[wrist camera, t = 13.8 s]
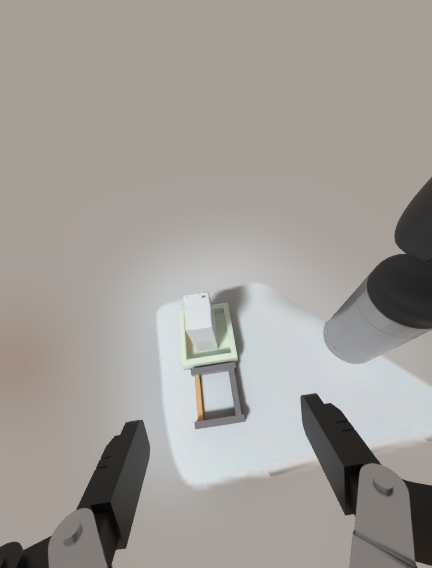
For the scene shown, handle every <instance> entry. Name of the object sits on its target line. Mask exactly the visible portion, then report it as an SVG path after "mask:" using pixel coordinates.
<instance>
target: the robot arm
mask: <svg viewBox="0 0 432 568" xmlns="http://www.w3.org/2000/svg"><path fill="white" fill-rule="evenodd" d="M395 242H396V244H397V245H398V247H399V248H400V249H402V250H403V251H404V252H405V253H407V254H399V255H395V256H392V257H389V258H387V259H385V260H384V261H382V262H381V263H380V264H379V265H378V266H377V267H376V268H375V269H374V270H373V271H372V272H371V273H370V275H369V276H368V277H367V278H366V279H365V280H364V281H363V282H362V284H361V285H360V286H359V287H358V288H357V289H356V291H355V292H354V293H353V294H352V295H351V296H350V297H349V299H348V300H347V301H346V302H345V303H344V304H343V305H342V307H341V308H340V309H339V310H338V311H337V312H336V313H335V314H334V316H333V317H332V318H331V319H330V320H329V321H328V323H327V324H326V326H325V328H324V339H325V342H326V344H327V346H328V348H329V349H330V350H331V352H332V353H333V354H334V355H336V356H337V357H338V358H340V359H342V360H344V361H346V362H349V363H357V364H359V363H364V362H366V361H369V360H371V359H373V358H375V357H377V356H379V355H381V354H383V353H385V352H387V351H389V350H392V349H394V348H396V347H398V346H400V345H402V344H404V343H406V342H408V341H410V340H412V339H414V338H416V337H418V336H420V335H422V334H424V333H426V332H428V331H430V330H432V178H431V179H430V180H429V181H428V182H427V183H426V184H425V185H424V186H423V188H422V189H421V190H420V191H419V192H418V193H417V195H416V196H415V197H414V198H413V200H412V201H411V202H410V204H409V205H408V206H407V208H406V209H405V211H404V213H403V214H402V216H401V218H400V219H399V222H398V224H397V226H396V230H395ZM301 411H302V422H303V427H304V430H305V433H306V435H307V438H308V440H309V442H310V444H311V446H312V448H313V450H314V452H315V454H316V456H317V458H318V460H319V462H320V464H321V466H322V468H323V470H324V472H325V475H326V476H327V479H328V481H329V483H330V485H331V487H332V489H333V491H334V493H335V495H336V497H337V499H338V501H339V503H340V505H341V507H342V510H343V512H344V514H345V515H350V514H355V516H356V519H355V529H354V532H353V536H352V546H351V556H350V567H349V568H417V566H416V564H415V561H416V562H420V563H424V564H427V565H431V566H432V486H431V485H425V484H420V483H414V482H409V481H406V480H403V479H401V478H400V477H399V476H398V475H397V474H396V473H395V472H393V471H392V470H390V469H388V468H387V467H385V466H382V465H381V464H380V462H379V461H378V460H377V458H376V457H375V456H374V454H373V453H372V452H371V450H370V449H369V448H368V446H367V445H366V444H365V442H364V441H363V440H362V438H361V437H360V436H359V434H358V433H357V432H356V430H354V428H353V426H352V425H351V424H350V422H348V420H347V418H346V417H345V416H344V414H343V413H342V412H341V410H339V409H338V408H337V407H335V406H334V405H332V404H331V403H328V404H324V403H323V402H322V400H321V399H320V397H319V396H318V395H317V394H316V393H314V394H308V395H301ZM149 455H150V445H149V441H148V437H147V433H146V429H145V426H144V422H143V420H137V421H130V422H126V423H125V425H124V427H123V430H122V432H121V434H120V435H118V436H115V437H114V438H113V439H112V440H111V441H110V443H109V444H108V445H107V446H106V448H105V450H104V452H103V454H102V456H101V460H100V461H99V463H98V465H97V467H96V470H95V471H94V473H93V475H92V477H91V480H90V482H89V484H88V486H87V488H86V490H85V492H84V494H83V497H82V499H81V501H80V503H79V505H78V507H77V509H76V511H74V512H73V513H71V514H70V515H68V516H67V517H66V518H65V519H64V520H63V521H62V522H61V523H60V524H59V525H58V527H57V528H56V529H55V531H54V533H53V535H52V536H50V537H48V538H46V539H44V540H42V541H41V542H39V543H37V544H35V545H33V546H31V547H29V548H27V549H25V550H23V548H22V546H21V545H20V543H18V542H10V543H7V544H5V545H3V546H1V547H0V568H113V566H112V561H113V557H114V554H115V550H118V549H125V548H126V546H127V542H128V539H129V535H130V531H131V527H132V523H133V519H134V515H135V512H136V507H137V503H138V500H139V496H140V492H141V488H142V484H143V480H144V477H145V473H146V469H147V465H148V461H149Z"/></svg>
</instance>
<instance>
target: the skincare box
mask: <svg viewBox="0 0 432 568" xmlns="http://www.w3.org/2000/svg"><path fill="white" fill-rule="evenodd" d="M183 302H184V319H185V331H186V333H187V334H188V336H189V338H190V340H191V341H192V343H193V345H194V346H195V348H196V350H197V351H205V350H213V349H218V348H219V347H218V337H217V329H216V322H215V316H214V312H213V308H212V304H211V299H210V295H209V292H204V293H198V294H191V295H185V296H183Z"/></svg>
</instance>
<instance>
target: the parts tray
mask: <svg viewBox="0 0 432 568" xmlns="http://www.w3.org/2000/svg"><path fill="white" fill-rule="evenodd" d="M212 308H213V312H214V316H215V322H216V329H217V337H218V347H219V348H218V349H213V350H205V351H197V350H196V348H195V346H194V345H193V343H192V341H191V340H190V338H189V336H188V334H187V333H186V331H185V319H184V309H181V310H179V331H180V352H181V367H182V368H183V369H184V370H186V369H192V368H199V367H205V366H212V365H218V364H225V363H231V362H238V357H237V351H236V346H235V340H234V335H233V329H232V323H231V318H230V312H229V307H228V302H226V303H219V304H213V305H212Z"/></svg>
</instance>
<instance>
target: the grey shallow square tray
mask: <svg viewBox="0 0 432 568" xmlns="http://www.w3.org/2000/svg"><path fill="white" fill-rule="evenodd" d="M234 370H236V363H235V362H231V363H225V364H218V365H212V366H205V367H199V368H192V369H191V375H192V376H195V385H196V398H197V411H198V421H197V422H195V429H200V428H206V427H213V426H219V425H226V424H232V423H239V422H245V416H244V414H242V413H241V407H240V401H239V395H238V389H237V383H236V377H235V371H234ZM225 371H229V376H230V383H231V389H232V396H233V402H234V409H235V416H229V417H222V418H216V419H210V420H203V409H202V397H201V386H200V375H205V374H212V373H218V372H225Z"/></svg>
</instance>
